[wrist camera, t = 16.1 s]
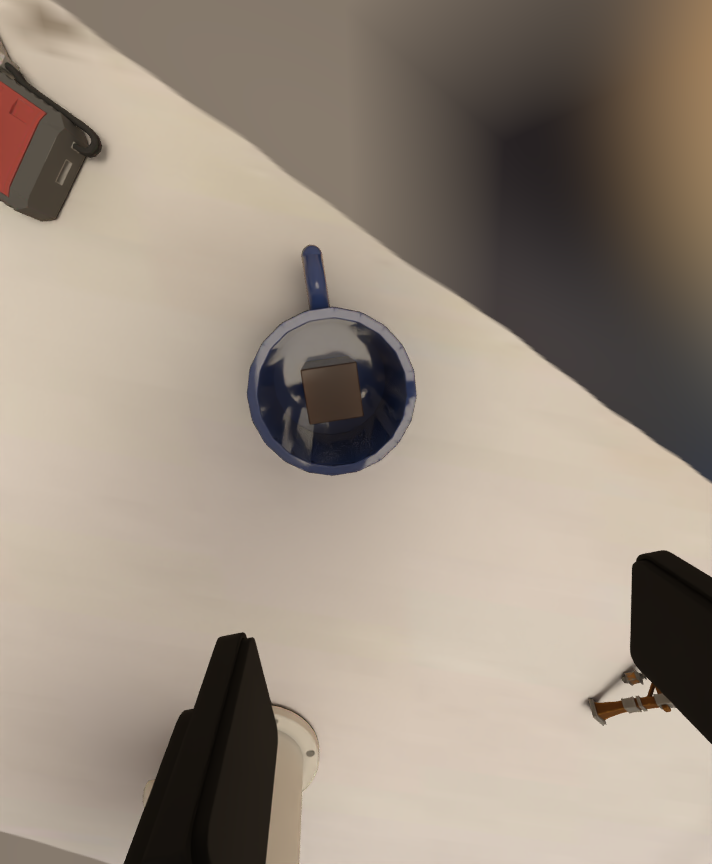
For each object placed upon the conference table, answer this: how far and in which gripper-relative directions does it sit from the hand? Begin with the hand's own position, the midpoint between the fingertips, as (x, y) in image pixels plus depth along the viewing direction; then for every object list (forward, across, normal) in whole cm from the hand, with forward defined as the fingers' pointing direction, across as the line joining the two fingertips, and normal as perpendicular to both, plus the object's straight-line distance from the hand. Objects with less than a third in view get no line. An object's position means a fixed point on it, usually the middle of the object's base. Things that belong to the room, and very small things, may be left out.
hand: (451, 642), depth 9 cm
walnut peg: (+23, +2, -4) cm, 23 cm away
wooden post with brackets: (+24, -23, +32) cm, 46 cm away
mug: (+23, +2, -6) cm, 24 cm away
